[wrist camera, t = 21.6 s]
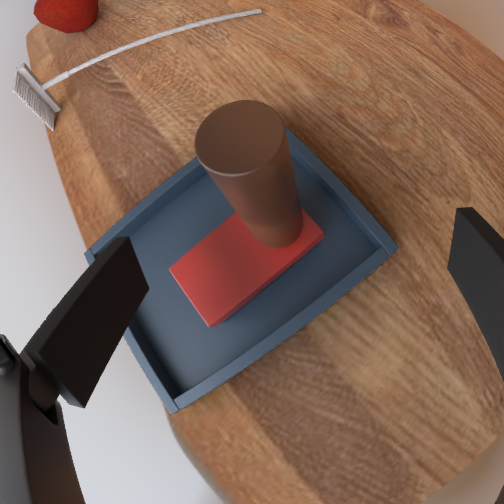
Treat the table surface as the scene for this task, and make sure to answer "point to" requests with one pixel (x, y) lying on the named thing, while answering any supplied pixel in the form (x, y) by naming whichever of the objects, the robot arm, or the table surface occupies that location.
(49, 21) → the apple
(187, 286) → the brown cylinder on base
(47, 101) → the brush
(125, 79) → the table surface
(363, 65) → the table surface
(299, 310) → the tray
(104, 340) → the robot arm
